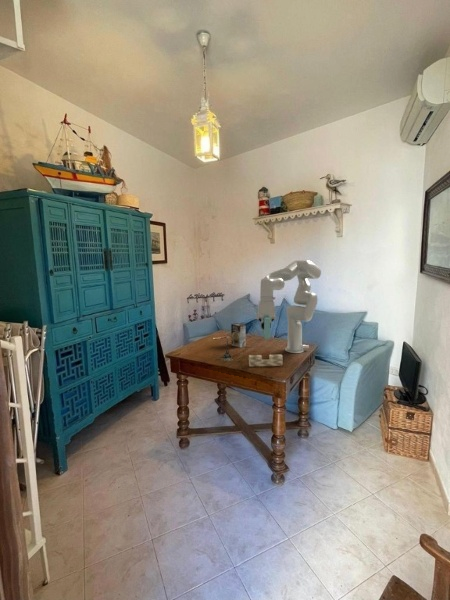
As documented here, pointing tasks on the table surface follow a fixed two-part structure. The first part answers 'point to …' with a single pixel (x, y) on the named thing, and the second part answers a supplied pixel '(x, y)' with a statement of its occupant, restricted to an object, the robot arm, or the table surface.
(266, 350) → the table surface
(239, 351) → the table surface
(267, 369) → the table surface
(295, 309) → the robot arm
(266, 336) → the cross plate
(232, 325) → the coffee box
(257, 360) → the slotted board
